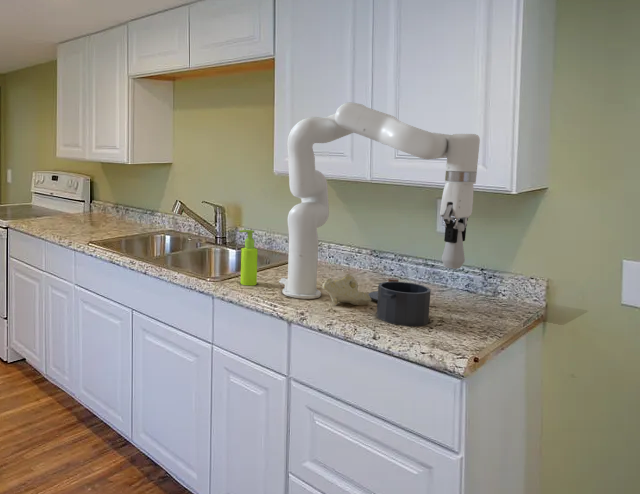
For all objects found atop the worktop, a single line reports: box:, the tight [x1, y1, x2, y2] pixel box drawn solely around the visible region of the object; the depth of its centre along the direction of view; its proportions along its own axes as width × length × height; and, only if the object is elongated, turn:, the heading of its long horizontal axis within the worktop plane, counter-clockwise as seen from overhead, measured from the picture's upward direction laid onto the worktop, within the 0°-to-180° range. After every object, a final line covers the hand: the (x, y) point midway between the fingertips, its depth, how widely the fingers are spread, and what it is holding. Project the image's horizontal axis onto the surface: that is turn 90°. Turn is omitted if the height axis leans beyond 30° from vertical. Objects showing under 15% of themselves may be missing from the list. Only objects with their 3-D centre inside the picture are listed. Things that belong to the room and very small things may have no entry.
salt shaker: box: [441, 222, 466, 270], centre depth 158 cm, size 6×6×13 cm
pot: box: [376, 281, 432, 327], centre depth 162 cm, size 14×19×10 cm
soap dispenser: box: [238, 229, 259, 287], centre depth 202 cm, size 6×7×20 cm
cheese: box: [321, 273, 372, 306], centre depth 177 cm, size 15×7×15 cm
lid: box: [367, 277, 400, 303], centre depth 181 cm, size 15×15×7 cm
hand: (454, 240), depth 158 cm, fingers closed on salt shaker, 4 cm apart
